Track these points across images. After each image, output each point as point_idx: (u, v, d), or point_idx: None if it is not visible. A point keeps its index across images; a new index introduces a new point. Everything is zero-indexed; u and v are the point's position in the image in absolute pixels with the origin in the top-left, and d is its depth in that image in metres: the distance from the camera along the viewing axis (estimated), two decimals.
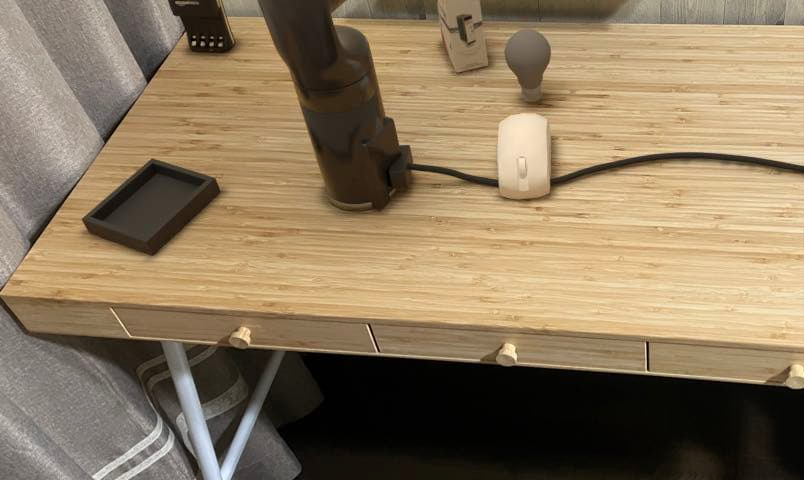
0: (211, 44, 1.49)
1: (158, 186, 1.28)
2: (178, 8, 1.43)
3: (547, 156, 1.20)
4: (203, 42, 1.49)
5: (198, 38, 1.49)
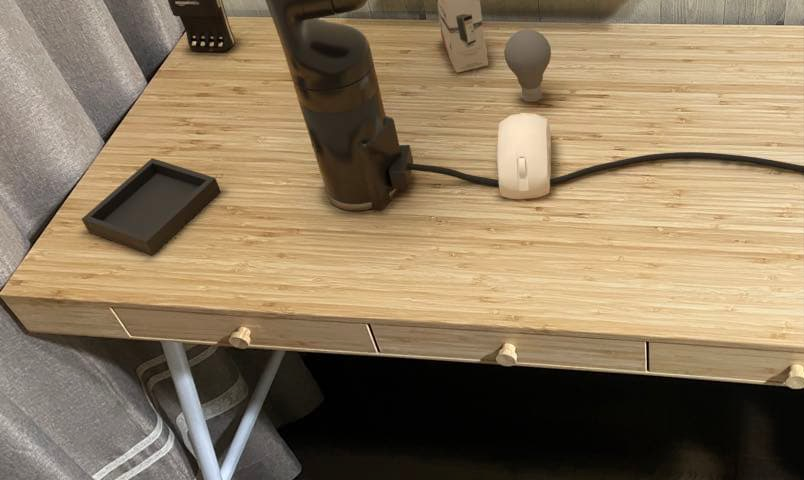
0: (211, 44, 1.49)
1: (158, 186, 1.28)
2: (178, 8, 1.43)
3: (547, 156, 1.20)
4: (203, 42, 1.49)
5: (198, 38, 1.49)
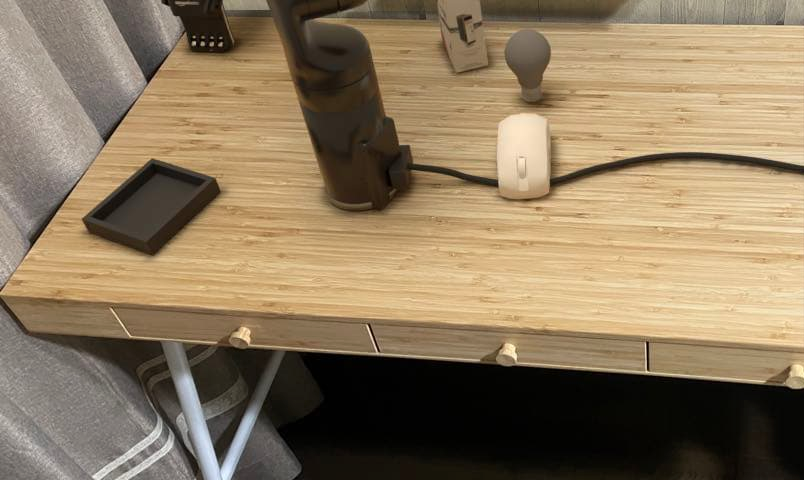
0: (211, 44, 1.49)
1: (158, 186, 1.28)
2: (178, 9, 1.43)
3: (547, 156, 1.20)
4: (203, 42, 1.49)
5: (198, 38, 1.49)
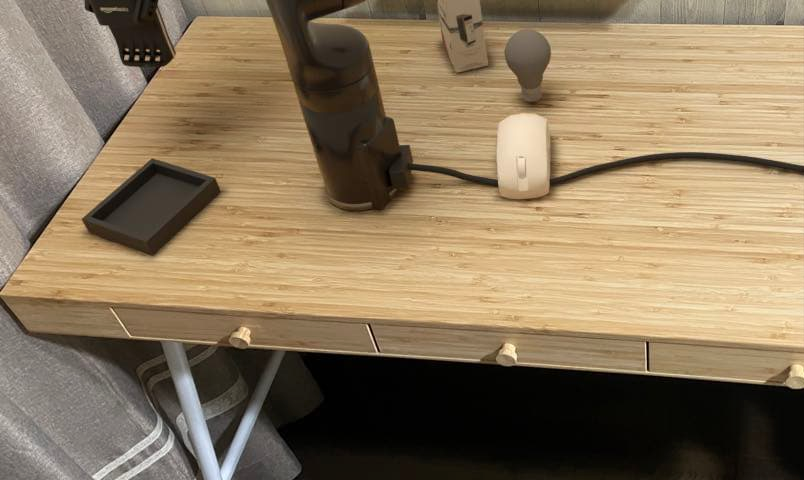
0: (147, 58, 1.24)
1: (158, 186, 1.28)
2: (104, 16, 1.19)
3: (546, 156, 1.20)
4: (137, 56, 1.25)
5: (131, 51, 1.25)
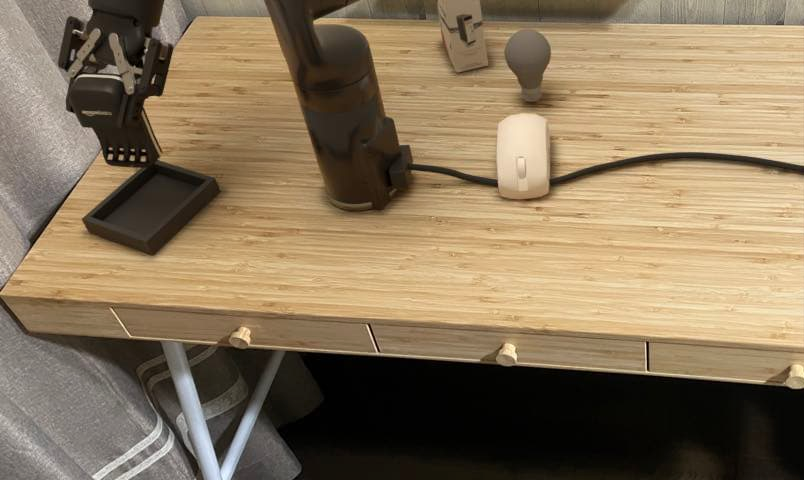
0: (132, 158, 1.18)
1: (158, 186, 1.28)
2: (86, 119, 1.13)
3: (546, 156, 1.20)
4: (122, 156, 1.19)
5: (115, 151, 1.18)
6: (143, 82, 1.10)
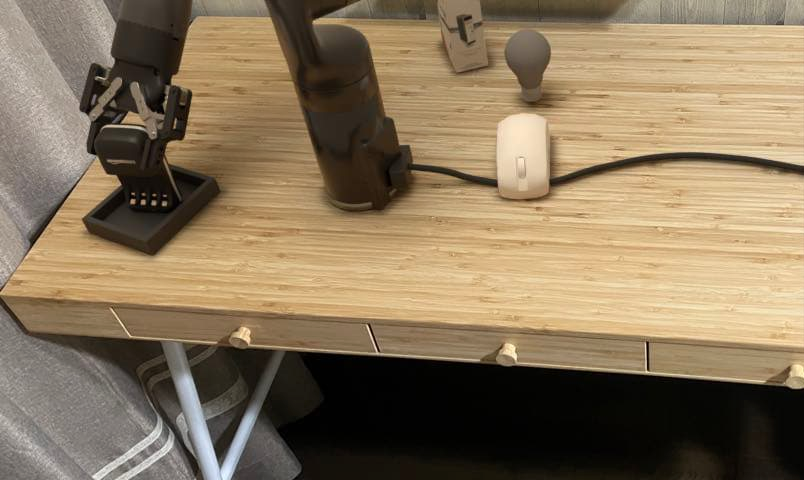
0: (153, 203, 1.23)
1: None
2: (111, 167, 1.18)
3: (546, 156, 1.20)
4: (144, 200, 1.24)
5: (138, 196, 1.24)
6: (165, 128, 1.14)
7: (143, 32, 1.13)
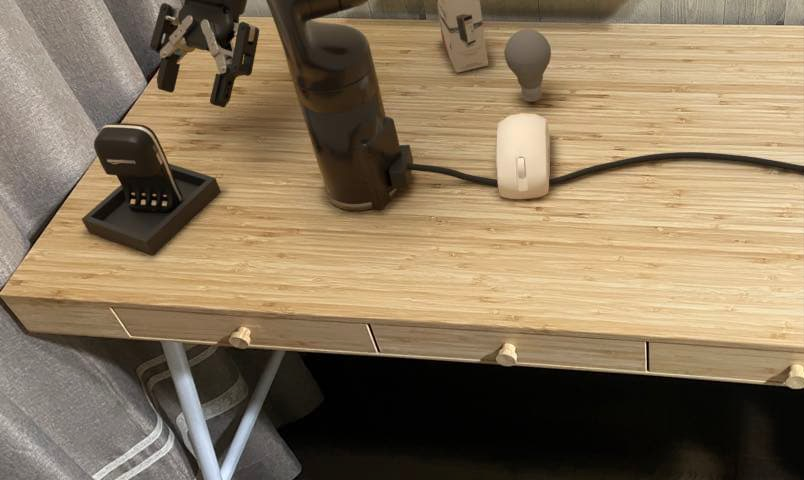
0: (153, 203, 1.23)
1: None
2: (111, 167, 1.18)
3: (546, 156, 1.20)
4: (144, 200, 1.24)
5: (138, 196, 1.24)
6: (235, 62, 1.21)
7: None
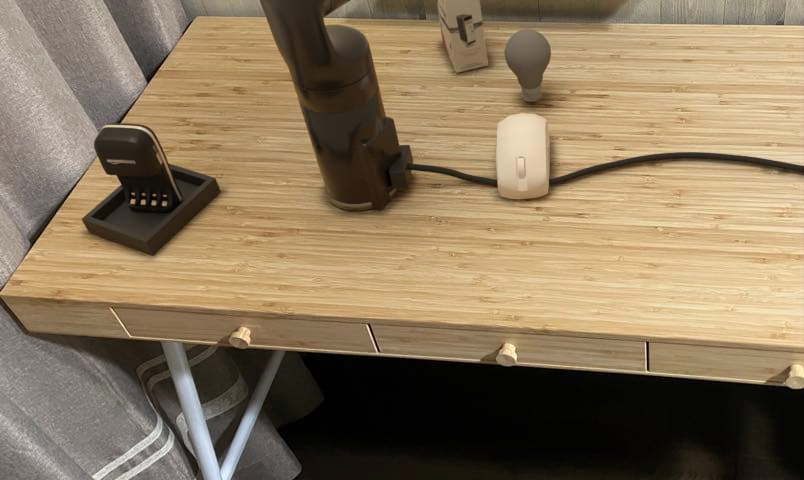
0: (153, 203, 1.23)
1: None
2: (111, 167, 1.18)
3: (546, 156, 1.20)
4: (144, 200, 1.24)
5: (138, 196, 1.24)
6: None
7: None
